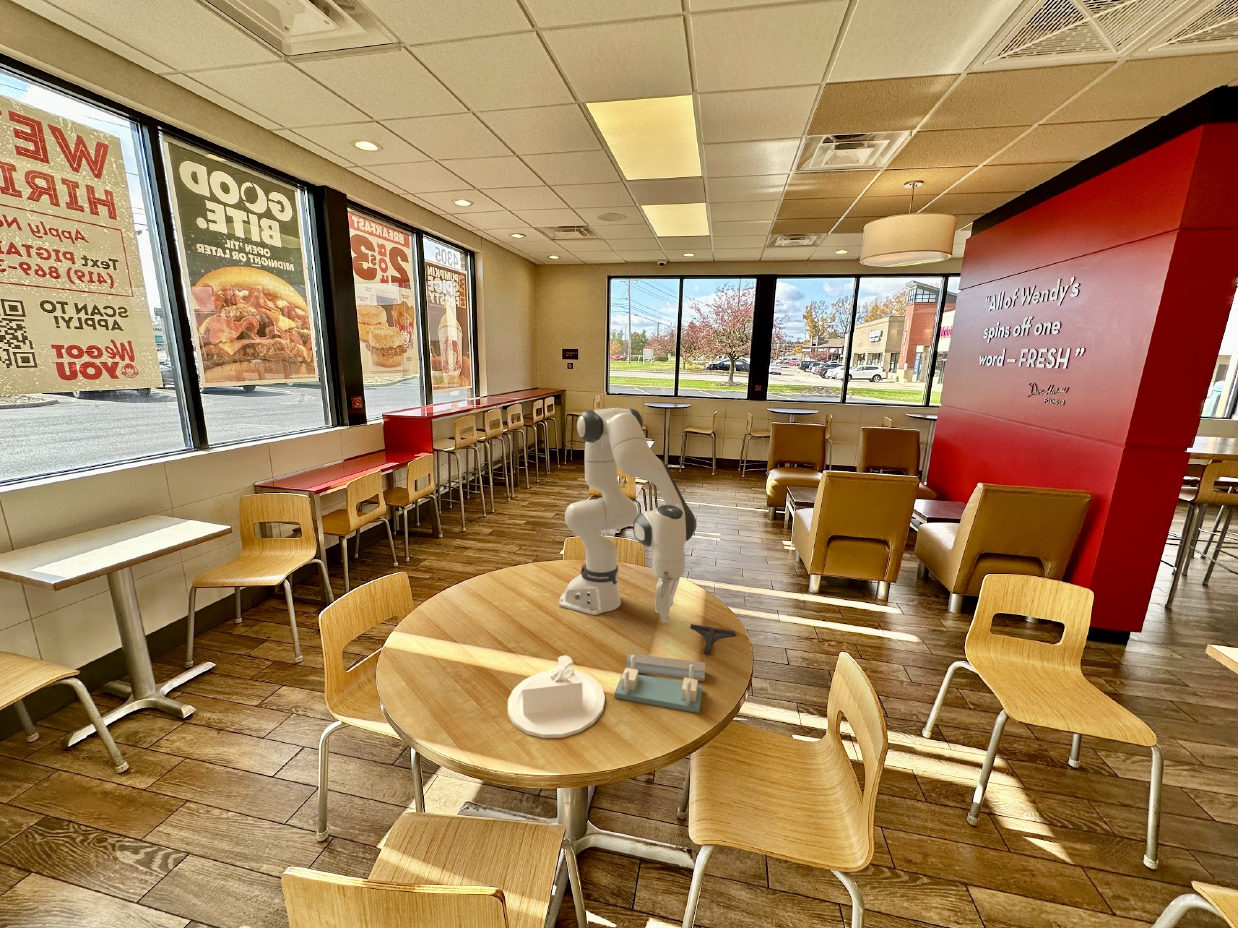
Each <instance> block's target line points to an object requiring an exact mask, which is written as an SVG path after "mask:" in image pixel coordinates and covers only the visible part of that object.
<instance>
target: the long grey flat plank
mask: <svg viewBox="0 0 1238 928" xmlns="http://www.w3.org/2000/svg"><path fill="white" fill-rule="evenodd" d="M631 655H635V669H637V670H638V674H645V673H646V675H651V676H662V677H669V678H677V679H683V680H684V677H685V678H689V668H690V665H691V664H693V665H694V679H697V680H698V682H700V681H701V682H705V677H706V676H705V675H706V662H703V661H697V660H696V661H695V660H687V659H680V658H679V659H678V658H671V657H664V656H663V657H662V656H656V655H655V656H654V655H646V654H639V653H628V654H627V658H626V662H625V668H631Z"/></svg>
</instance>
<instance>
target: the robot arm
mask: <svg viewBox="0 0 1238 928" xmlns="http://www.w3.org/2000/svg"><path fill="white" fill-rule="evenodd" d="M643 424H644V422H643V418H642V415H641V413H640V411H638V410H636V409H633V408H630V407H627V408H620V407H608V408H600V409H599V408H598V409H588V410H583V411H581V412H580V414H579V416H578V417H577V421H576V431H577V435H578V436H579V438H580V439H581V440H582V441H583V442H585V443H584V480H585V483H586V485H587V487H588V486H589V487H590V488H591V489H593V490H596V491H598V492H600V493H601V498H598V499H597V498H596V499H583V500H579V501H576V502H573V503H570V504H569V505H568V506H567V507H566V509H565V512H564V521H565V524H566V526H567V527H568V529H569V530H570V531H572V532H573V533H575V534H576V535H577V536H578V537H579V539H580V540H581V541H582V543H583V545H584V549H585V550H584V551H585V561H584V562H583V563H582V566H581V567H580V569H579V575H578V576H576V577H575V578H573V579H572V580H570V582H569V583H568V584H567V586H566V589H565V591H564V592H563V593H562V594H561V596H560V597H559V600H558V605H559V607H561V608H565V609H568V610H573V611H575V612H576V611H577V612H581V613H584V614H588V615H592V616H597V615H600V614H602V613H608V612H611V611H614V610H616V609H619V607H620V606H621V604H622V600H621V595H620V592H619V585H618V581H619V565H618V548H617V545H616V543H615V542H614V541H613V540H611V539H610V538H607V537H605V536H603V535H602V534H601V533H602V531H608V530H609V531H611V530H620V529H625V528H627V527H631V526H632V533H633V536H634V539H635V540H636V541H637V542H638V543H640V544H642V545H643V546H645V547H648V548H650V547H651V548H652V557H651V558H652V561H651V562H652V563H651V564H652V565H651V568H652V569H651V572H652V573H653V574H654V575H655V576H656V578H657V580H658V581H657V583H656V589H655V602H654V609H655V610H654V611H655V613H658V614H660V622H661V623H666V624H667V623H668V621H669V613H670V610H671V607H672V606H673V605H674V598H675V595H676V591H677V587H679V583H680V579H681V577H682V576H683V575H684V574H685V572H686V552H685V545H686V542H688V541H689V540H691V539H692V537H693V535H694V533H695V532H696V529H697V526H698V525H697V519H696V517H695V515H694V513H693V511H692V510H691V508H690V507H689V506H688V504H687V503H686V501H685V499H684V497H683V495H682V493H681V491H680V489H679V487H678V485H677V483H676V482H675V479H674V477H673V475H672V474H671V471H670V470H669V468H668V466H667V464H666V462H665V461H663V460H662V459H660V458H659V457H658V456H656V454H655V453H654V452H653V451H652V449H651V447H650V446H649V444H648V441H647V438H646V435H645V432H644V431H643V428H644V427H643ZM618 469H619V470H620V471H621V472H622V473H624V474H625V475H627V476H631V477H634V478H639V479H642V480H646V481H648V482H650V483H652V484H653V485H654V486H655V487H656V488H657V489H658V490H659V493H660V495H661V497H662V499H663V502H664V503H665V504H662V505H660V506H658V507H656V508H655V509H654V510H645V511H642V512H639V513H638V508H637V506H636V503H635V502H634V501H633V500H632V499H631V498H630V497H628V496H627V495H626V494H625V493H624V492H623V490H622V488H621V486H620V483H619V478H618Z"/></svg>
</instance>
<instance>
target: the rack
mask: <svg viewBox="0 0 1238 928" xmlns="http://www.w3.org/2000/svg"><path fill="white" fill-rule="evenodd" d="M698 682H699V681H698V680H697V679H694V665H693V664H691V665H690V668H689V678H685V677H684V679H683V680H682V681H679V680H678V681H677V680H674V679H673V680H671V679H666V678H660V677H656V676H655V677H654V676H648V675H644V674H643V675H641V674H639V673H638V670H637V669H635V655H631V668H626V667H625V668H624V671H623V672H622V674H621V676H620V679H619V680H618V683H617V686H616V688H615V691H614V698H615V699H620V700H624V701H631V702H636V703H641V704H647V705H651V706H652V705H653V706H656V707H657V706H658V707H664V708H668V709H669V708H670V709H674V710H679V711H680V710H681V711H685V712H690V713H697V714H700V710H701V704H702V695H703V689H704V688H703V685H702V684H701V685H700V684H699V683H698Z"/></svg>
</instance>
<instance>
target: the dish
mask: <svg viewBox="0 0 1238 928" xmlns="http://www.w3.org/2000/svg"><path fill="white" fill-rule="evenodd" d="M557 661H558V664H557V665H555V666H554V667H553V668H551V669H550V670H546V671H541V672H537V673H534V675H531V676H528V677H526V678H525V679H523V680H522V681H520V683H518V684H517V685H516V686H515V687H514V688H513V689H512V691H511V694H510V695H509V697H508V698H507V716H508V718H509V719H510V720H511V722H512V724H513V726H515V727H516V728H517V729H519V730H520V731H521V732H523V733H525V734H527V735H530V736H534V737H538V738H542V739H558V738H562V739H563V738H565V737H569V736H572V735H576V734H579V733H581V732H583V731H584V730H586V729H587V728H589V727H591V726H592V725H594V724H595V723H596V721H597V720H598V719H599V718H600V716H601V715H602V714H603V712H604V708H605V702H606V697H605V693H604V689H603V687H602V686H601V684H600V683H599V682H598V681H597V680H596V679H595V678H594V677H592V676H590V675H588V674H586V673H584V672H582V671H578V670H574V669H573V668H571V667H570V666H571V665H573V664H574V661H573V659H572V658H571V657H570V656H569V655H561V656H558V657H557Z"/></svg>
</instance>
